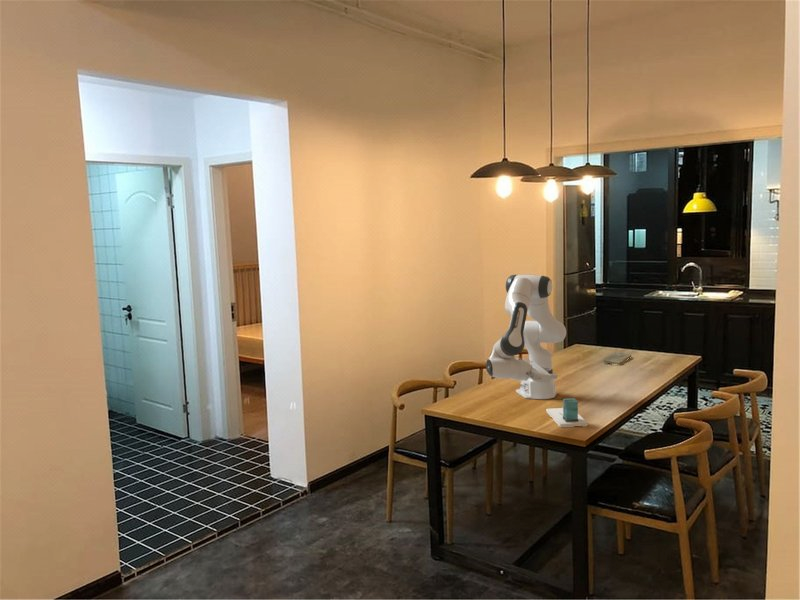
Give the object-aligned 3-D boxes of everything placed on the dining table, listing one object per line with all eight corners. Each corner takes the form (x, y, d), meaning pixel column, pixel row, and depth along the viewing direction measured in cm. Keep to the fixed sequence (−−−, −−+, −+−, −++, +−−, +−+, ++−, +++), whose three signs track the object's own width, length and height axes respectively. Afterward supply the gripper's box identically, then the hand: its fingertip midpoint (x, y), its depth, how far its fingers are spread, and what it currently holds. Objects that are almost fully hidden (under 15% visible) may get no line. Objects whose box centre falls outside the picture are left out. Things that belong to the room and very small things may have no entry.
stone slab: (633, 352, 414) (621, 359, 389) (633, 358, 414) (620, 366, 390) (614, 350, 421) (600, 357, 396) (613, 357, 421) (600, 364, 396)
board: (546, 411, 300) (546, 408, 300) (571, 410, 300) (571, 407, 300) (560, 427, 276) (560, 424, 276) (587, 426, 276) (587, 422, 276)
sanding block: (562, 418, 284) (562, 398, 283) (574, 417, 284) (574, 398, 283) (566, 422, 278) (566, 402, 277) (578, 421, 278) (578, 401, 277)
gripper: (532, 370, 267) (563, 373, 270) (516, 356, 287) (545, 359, 290) (530, 385, 269) (560, 387, 271) (514, 370, 288) (542, 372, 291)
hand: (552, 373), depth 281 cm, fingers open, 8 cm apart
